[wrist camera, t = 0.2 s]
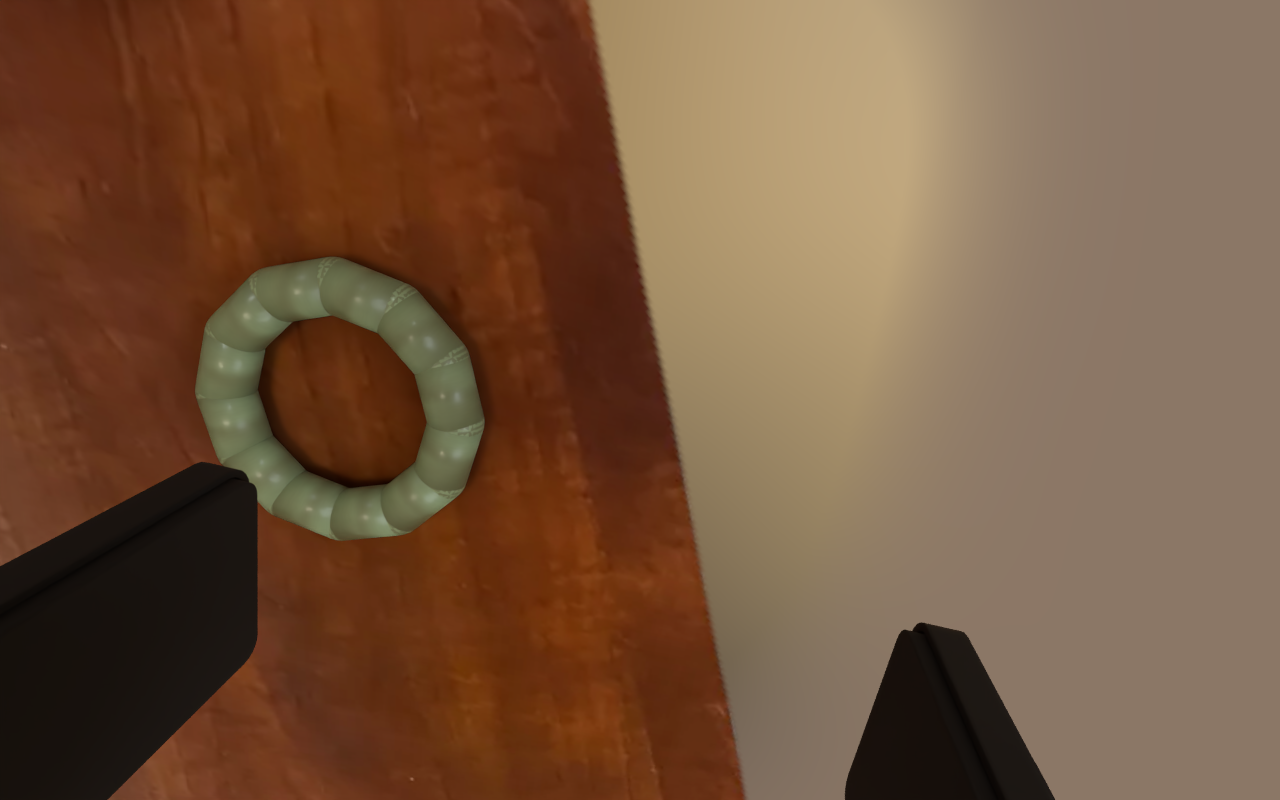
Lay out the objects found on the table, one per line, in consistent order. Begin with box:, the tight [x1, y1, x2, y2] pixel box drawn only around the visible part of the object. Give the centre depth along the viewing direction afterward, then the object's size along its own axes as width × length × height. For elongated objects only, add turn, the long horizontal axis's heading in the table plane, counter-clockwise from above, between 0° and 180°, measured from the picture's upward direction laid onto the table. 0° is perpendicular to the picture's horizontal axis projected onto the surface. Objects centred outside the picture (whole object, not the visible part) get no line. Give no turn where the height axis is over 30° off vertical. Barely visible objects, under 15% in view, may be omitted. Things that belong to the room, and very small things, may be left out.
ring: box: [195, 257, 485, 541], centre depth 23 cm, size 10×10×2 cm
